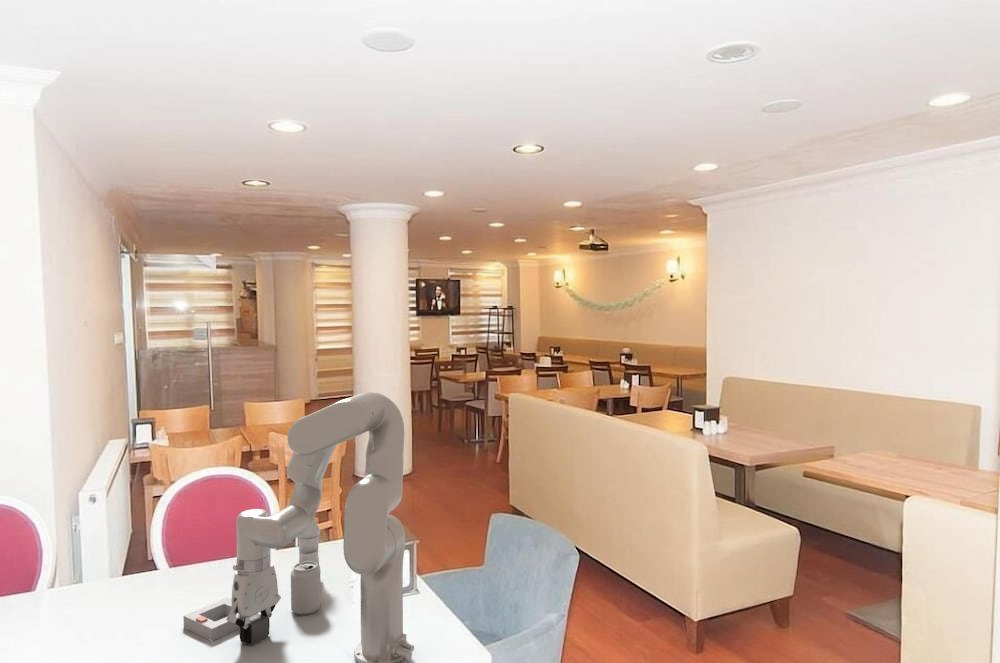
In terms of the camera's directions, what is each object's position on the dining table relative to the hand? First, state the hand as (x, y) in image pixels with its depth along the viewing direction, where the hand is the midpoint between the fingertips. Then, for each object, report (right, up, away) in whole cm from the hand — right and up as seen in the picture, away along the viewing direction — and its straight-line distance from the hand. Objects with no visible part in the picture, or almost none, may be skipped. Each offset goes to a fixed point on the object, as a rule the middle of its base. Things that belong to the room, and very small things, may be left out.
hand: (254, 637), depth 153 cm
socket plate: (-12, 0, +8) cm, 14 cm away
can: (+8, 0, +15) cm, 17 cm away
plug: (0, -1, 0) cm, 1 cm away
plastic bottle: (+3, 0, +33) cm, 33 cm away
